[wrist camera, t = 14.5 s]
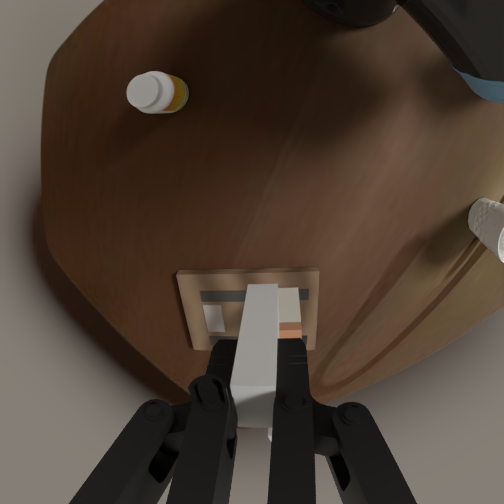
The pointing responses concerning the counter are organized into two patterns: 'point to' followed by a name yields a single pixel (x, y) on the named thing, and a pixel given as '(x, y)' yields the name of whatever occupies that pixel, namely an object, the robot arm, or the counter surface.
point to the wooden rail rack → (241, 300)
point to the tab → (289, 313)
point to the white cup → (488, 224)
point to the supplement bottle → (157, 92)
